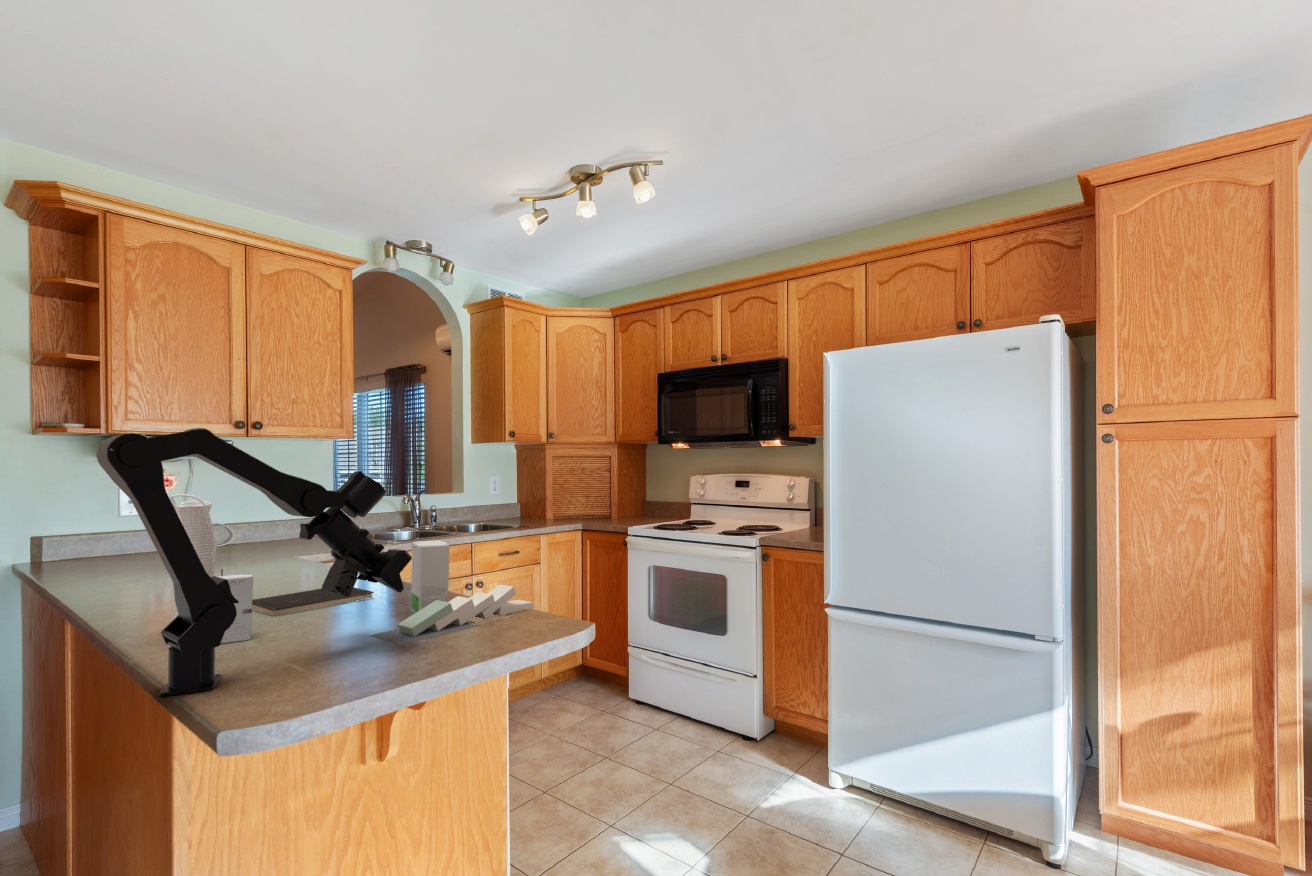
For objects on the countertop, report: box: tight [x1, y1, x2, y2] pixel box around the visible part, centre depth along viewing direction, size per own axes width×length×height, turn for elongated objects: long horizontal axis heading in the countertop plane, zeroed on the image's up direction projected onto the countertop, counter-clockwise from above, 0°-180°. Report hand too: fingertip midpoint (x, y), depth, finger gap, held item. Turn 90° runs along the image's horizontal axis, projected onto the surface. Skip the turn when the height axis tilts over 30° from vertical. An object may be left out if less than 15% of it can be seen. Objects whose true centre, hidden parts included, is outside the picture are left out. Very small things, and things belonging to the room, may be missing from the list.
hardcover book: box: [252, 586, 374, 617], centre depth 156 cm, size 16×23×2 cm
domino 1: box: [397, 600, 453, 637], centre depth 127 cm, size 2×5×9 cm
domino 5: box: [493, 599, 534, 616], centre depth 143 cm, size 2×5×9 cm
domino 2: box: [428, 595, 475, 631], centre depth 131 cm, size 2×5×9 cm
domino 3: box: [451, 591, 495, 625], centre depth 135 cm, size 2×5×9 cm
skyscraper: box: [169, 493, 224, 620], centre depth 127 cm, size 8×8×28 cm
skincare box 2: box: [410, 539, 450, 614], centre depth 144 cm, size 8×7×16 cm
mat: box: [369, 620, 481, 646], centre depth 130 cm, size 26×11×1 cm, turn 141°
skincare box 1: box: [216, 573, 254, 644], centre depth 124 cm, size 6×4×12 cm
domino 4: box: [475, 584, 517, 619], centre depth 139 cm, size 2×5×9 cm
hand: (401, 590), depth 123 cm, fingers closed
